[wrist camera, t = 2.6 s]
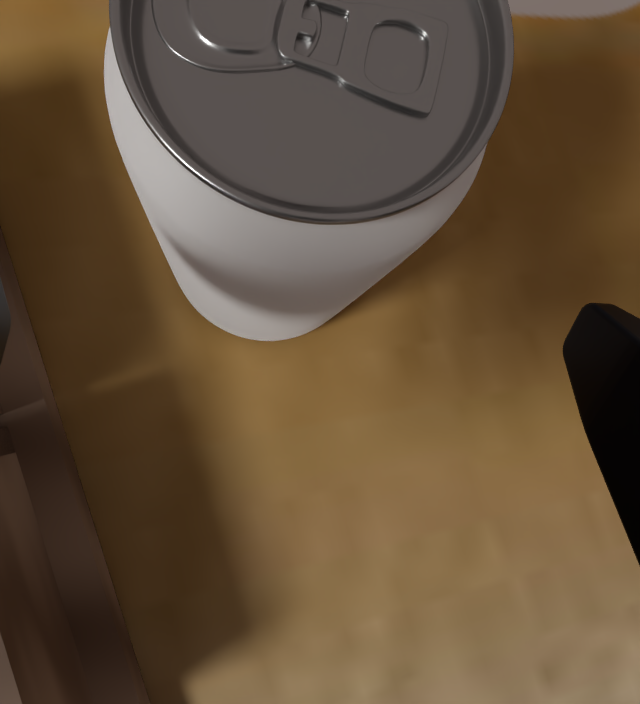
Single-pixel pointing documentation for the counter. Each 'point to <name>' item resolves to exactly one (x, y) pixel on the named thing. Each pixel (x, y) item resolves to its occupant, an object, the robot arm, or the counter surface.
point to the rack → (50, 548)
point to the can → (300, 140)
